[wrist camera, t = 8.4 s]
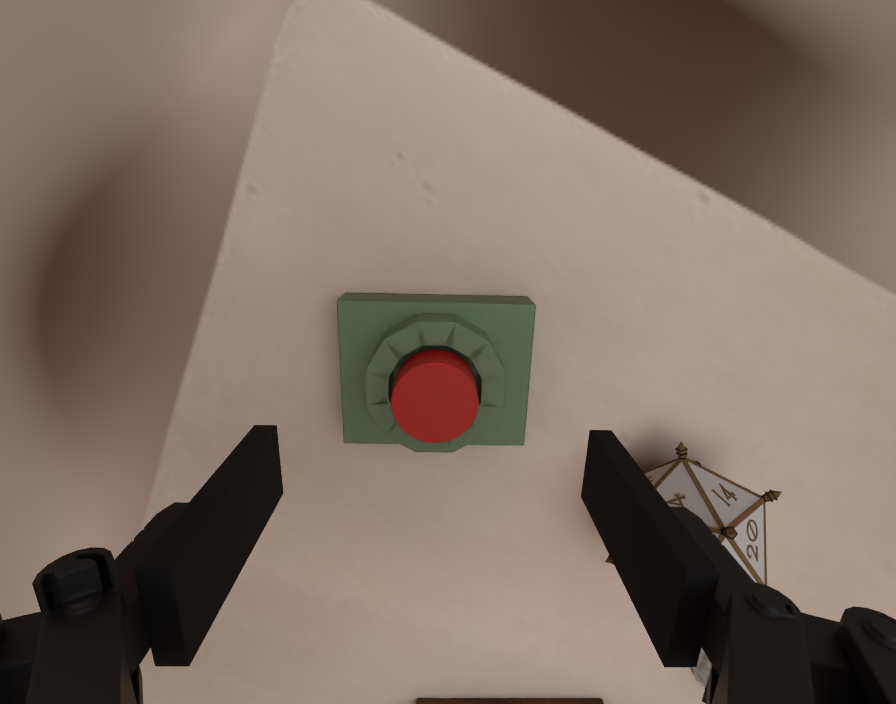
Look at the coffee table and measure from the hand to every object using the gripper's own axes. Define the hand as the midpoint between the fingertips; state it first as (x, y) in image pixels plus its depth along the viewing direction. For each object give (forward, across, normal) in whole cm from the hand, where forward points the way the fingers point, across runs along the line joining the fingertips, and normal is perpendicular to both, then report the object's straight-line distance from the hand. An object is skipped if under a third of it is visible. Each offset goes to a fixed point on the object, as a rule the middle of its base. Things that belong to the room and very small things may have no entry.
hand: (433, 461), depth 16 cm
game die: (+11, +14, -8) cm, 19 cm away
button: (+7, 0, 0) cm, 7 cm away
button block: (+10, 0, 0) cm, 10 cm away
